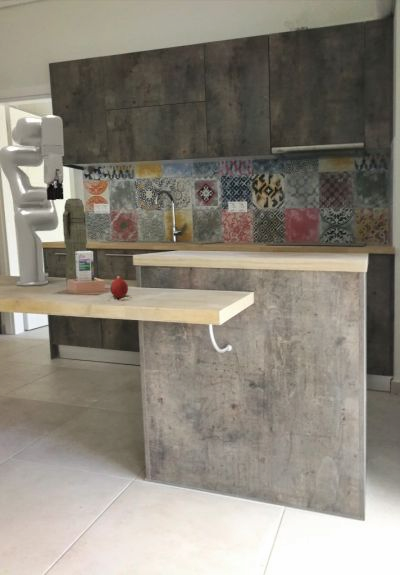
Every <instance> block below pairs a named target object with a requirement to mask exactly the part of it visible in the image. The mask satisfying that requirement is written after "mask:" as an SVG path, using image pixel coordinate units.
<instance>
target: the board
mask: <svg viewBox="0 0 400 575" xmlns="http://www.w3.org/2000/svg"><path fill="white" fill-rule="evenodd" d="M110 288H111V287H105V292H93V293H81V294H75V293H73V292H70V291H68V289H64V290H60V291H55V292H53V293H51V295H69V296H70V295H71V296H73V295H74V296H100V295H104V294H106V293H109V292H110V293H111V290H110Z"/></svg>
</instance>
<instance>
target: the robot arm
mask: <svg viewBox="0 0 400 575" xmlns="http://www.w3.org/2000/svg"><path fill="white" fill-rule="evenodd" d="M63 126H64V124H63V119H62V117H61V116H58V115H50V114H49V115H43V116H42V117H41V118H40V117H31V116H30V117H29V116H25V117H21V118H18V119H17V122H16V124H15V127H13V129H12V131H11V138H12V140H13V142H14V143H15V144H17V145H13V144H12V145H11V144H10V145H5V146H3V147H1V149H0V167H1V170H2V172H3V174H4V176H5V178H6V179H7V181H8V185H9V189H10V192H11V196H12V200H13V203H14V205H15V206H14V207H16V208H18V210H17V211H15V213H14V216H13V218H14V219H13V220H14V223H15V229H16V234H17V243H18V244H17V245H18V263H19V264H18V266H19V279H20V280H18V281H16V285H17V286H25V287H26V286H27V287H28V286H30V287H31V286H43V285H47V284H48V283H49V281H48V279H46V278H48V277H49V273H48V272H44V271H45V270H44V256H43V252H44V251H43V241H42V239H41V237H40V236H39V235H38V234H37V232H49V231H55V230H56V229H58V226H59V217H58V212H57V208H56V205H55V201H56V200H64V197H65V196H64V184H63V182H64V164H63V157H64V156H65V148H64V147H65V146H64V128H63ZM42 164H43V182H44V184H46V186H45V187H44V186H33V185H31V184H32V183H31V181H30V177H29V176H28V174H27V173H26V172H25V171H24V170H23V169H22V168H20V167H30V168H31V167H32V168H34V167H35V168H37V167H40V166H42Z"/></svg>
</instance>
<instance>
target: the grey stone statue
mask: <svg viewBox="0 0 400 575" xmlns="http://www.w3.org/2000/svg"><path fill="white" fill-rule="evenodd" d="M86 216H87V215H86V212H85V205H84V202H83V200H82V199H80V198H67V199H66V200H65V203H64V211H63V213H62V225H63V226H62V227H63V240H64V245H65V256H66V258H65V260H66V268H65V281H66V282H65V283H67V280H68V279H76V259H75V252H76V251H87V243H88V239H87V238H88V236H87V235H88V233H87V232H88V230H87V218H86Z"/></svg>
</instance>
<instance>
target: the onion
mask: <svg viewBox="0 0 400 575" xmlns="http://www.w3.org/2000/svg"><path fill="white" fill-rule="evenodd" d="M128 287H129V286H128V284H127V282H126V281H125V280H124V279H123V278H121V276H119V275H117V276H116V279H114V280H113V281H112V282H111V284H110V287H109V288H110V290H111V291H110V293H111V294H112V296H113V297H115V298H116V299H117V300H119V301H120V300H121V299H123V298H124V297H125V296H126V295H127V293H128V291H129V288H128Z"/></svg>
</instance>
